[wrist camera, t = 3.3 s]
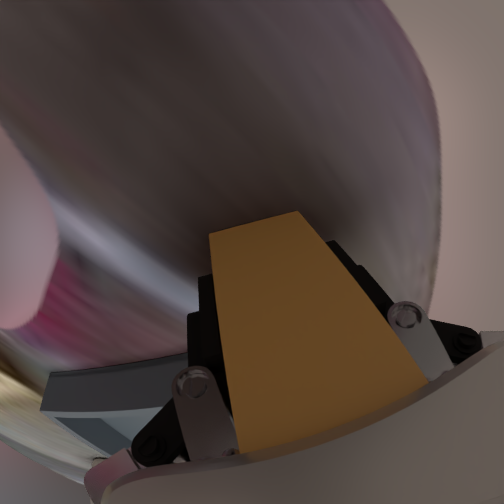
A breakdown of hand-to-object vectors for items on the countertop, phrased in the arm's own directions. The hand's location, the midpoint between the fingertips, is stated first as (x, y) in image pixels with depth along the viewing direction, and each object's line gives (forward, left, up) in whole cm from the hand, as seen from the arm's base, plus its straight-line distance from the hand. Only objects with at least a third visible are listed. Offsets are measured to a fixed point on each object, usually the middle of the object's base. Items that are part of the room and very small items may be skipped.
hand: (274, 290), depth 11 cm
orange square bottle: (0, 0, -2) cm, 2 cm away
